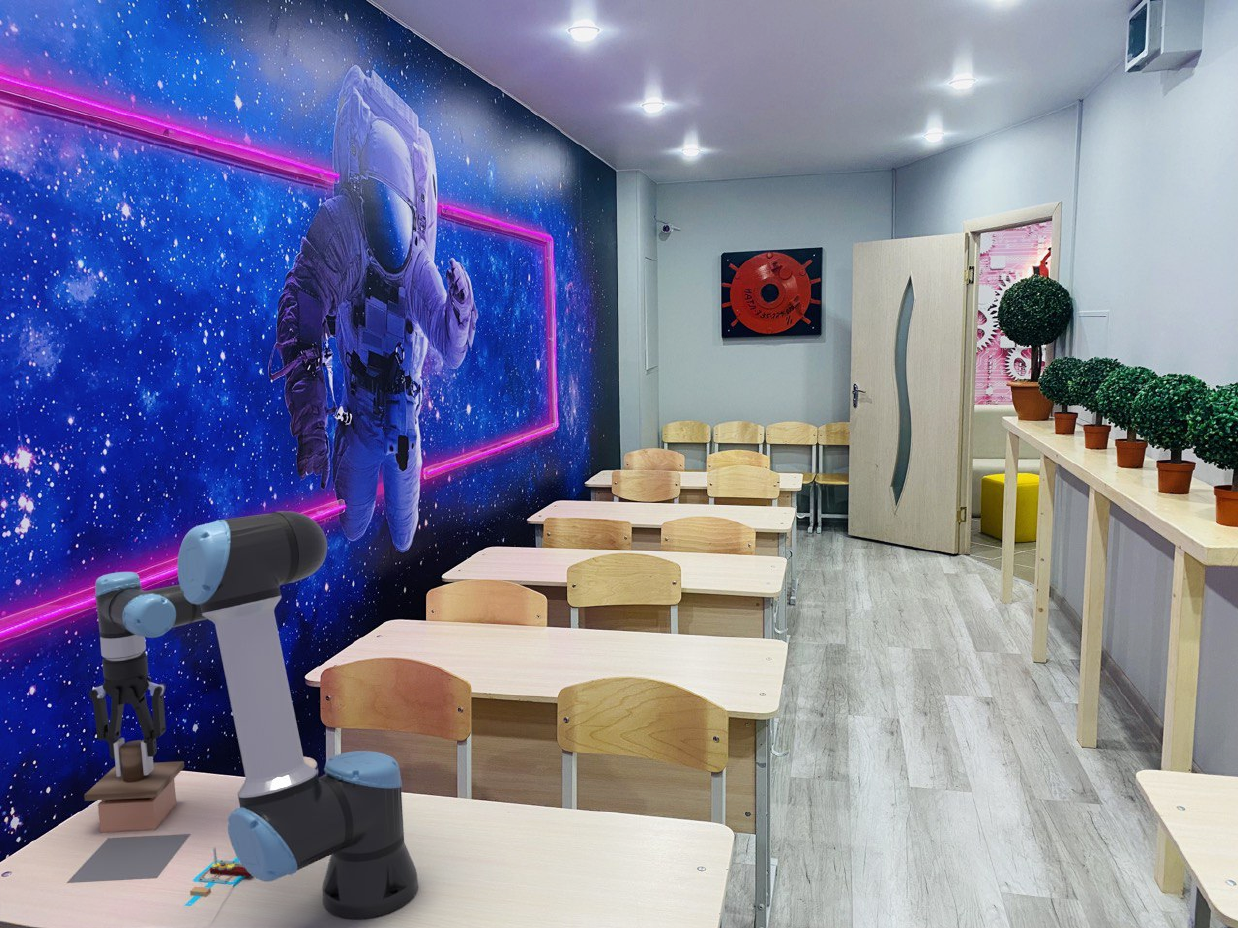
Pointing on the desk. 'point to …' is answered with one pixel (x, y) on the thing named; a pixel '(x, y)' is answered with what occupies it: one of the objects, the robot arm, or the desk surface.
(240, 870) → the gear mechanism
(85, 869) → the rubber mat
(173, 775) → the walnut lid
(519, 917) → the desk surface
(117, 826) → the square bowl
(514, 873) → the desk surface
